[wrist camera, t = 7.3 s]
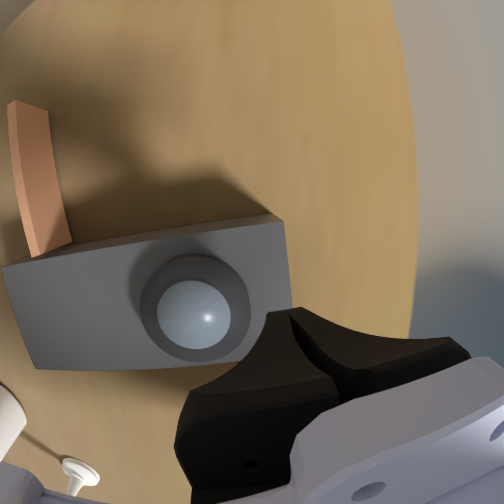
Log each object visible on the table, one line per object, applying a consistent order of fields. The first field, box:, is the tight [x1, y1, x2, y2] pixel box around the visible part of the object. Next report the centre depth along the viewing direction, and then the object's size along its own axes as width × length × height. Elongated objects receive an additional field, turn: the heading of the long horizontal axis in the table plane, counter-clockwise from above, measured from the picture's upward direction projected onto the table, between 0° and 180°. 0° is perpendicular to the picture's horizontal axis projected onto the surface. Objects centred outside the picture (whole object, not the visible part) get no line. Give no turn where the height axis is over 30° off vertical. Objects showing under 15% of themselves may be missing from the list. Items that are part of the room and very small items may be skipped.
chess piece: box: [62, 458, 100, 497], centre depth 20 cm, size 5×5×10 cm
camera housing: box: [1, 213, 293, 371], centre depth 17 cm, size 8×18×6 cm, turn 98°
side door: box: [7, 100, 72, 257], centre depth 16 cm, size 1×10×4 cm, turn 13°
